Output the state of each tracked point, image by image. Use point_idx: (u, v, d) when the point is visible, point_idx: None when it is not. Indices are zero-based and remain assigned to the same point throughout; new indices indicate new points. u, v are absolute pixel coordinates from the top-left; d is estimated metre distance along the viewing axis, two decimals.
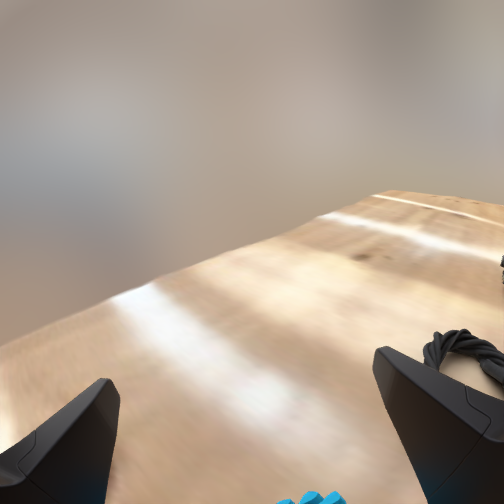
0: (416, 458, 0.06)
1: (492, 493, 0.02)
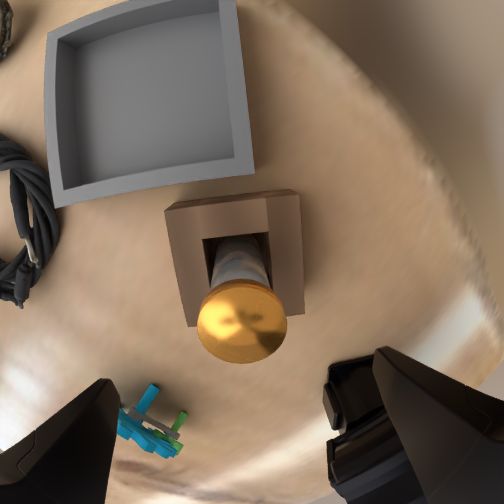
0: (416, 458, 0.06)
1: (492, 493, 0.02)
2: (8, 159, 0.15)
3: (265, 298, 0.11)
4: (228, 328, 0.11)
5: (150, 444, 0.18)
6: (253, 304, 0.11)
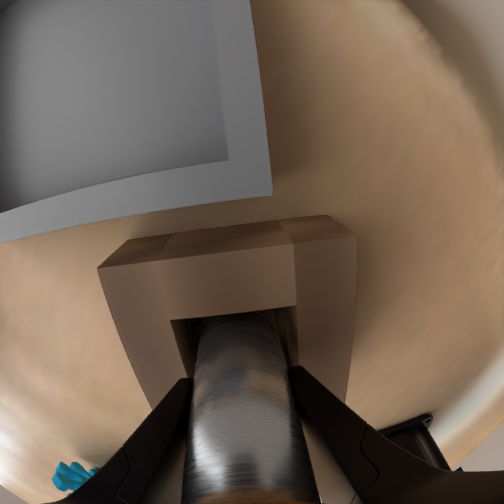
0: (320, 489, 0.06)
1: None
2: None
3: None
4: None
5: None
6: None
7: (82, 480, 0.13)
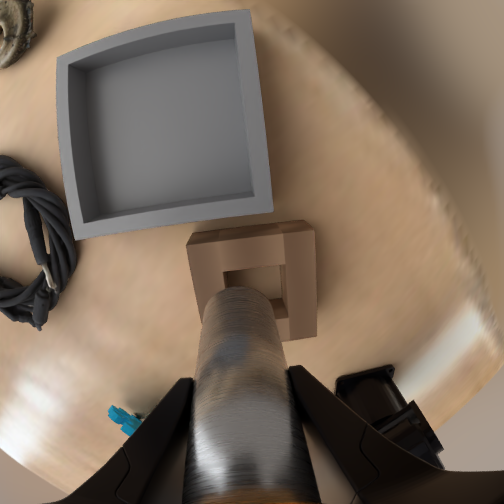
0: (320, 489, 0.06)
1: None
2: (21, 186, 0.16)
3: None
4: None
5: None
6: None
7: (129, 418, 0.23)
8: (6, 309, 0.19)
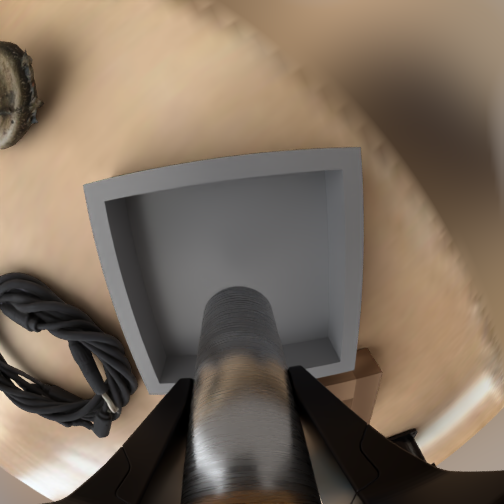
0: (320, 489, 0.06)
1: None
2: (63, 327, 0.16)
3: None
4: None
5: None
6: None
7: None
8: None
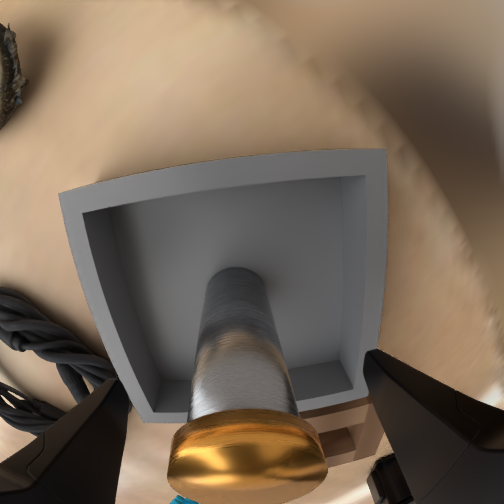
0: (405, 463, 0.06)
1: (480, 502, 0.02)
2: (48, 348, 0.13)
3: (295, 452, 0.05)
4: (223, 484, 0.05)
5: None
6: (271, 462, 0.05)
7: None
8: None
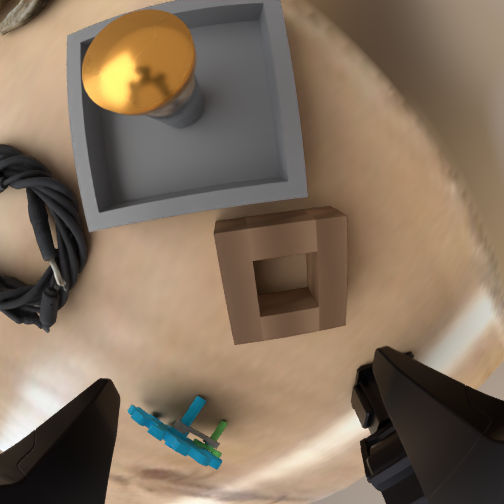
0: (416, 458, 0.06)
1: (492, 493, 0.02)
2: (25, 176, 0.15)
3: (166, 16, 0.06)
4: (117, 58, 0.06)
5: (207, 458, 0.19)
6: (151, 24, 0.06)
7: (151, 419, 0.22)
8: (10, 311, 0.18)
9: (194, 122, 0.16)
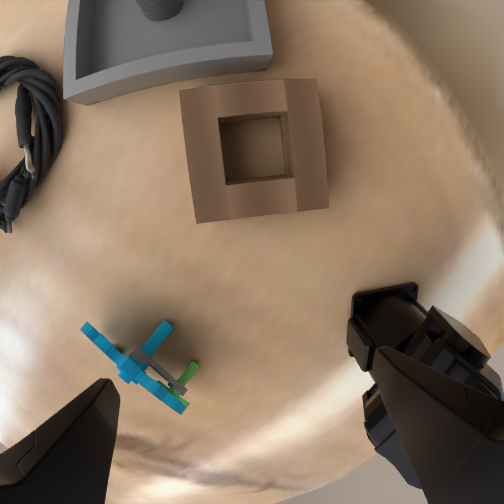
0: (416, 458, 0.06)
1: (492, 493, 0.02)
2: (19, 71, 0.13)
3: None
4: None
5: (161, 387, 0.16)
6: None
7: None
8: None
9: (173, 15, 0.14)
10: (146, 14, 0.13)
